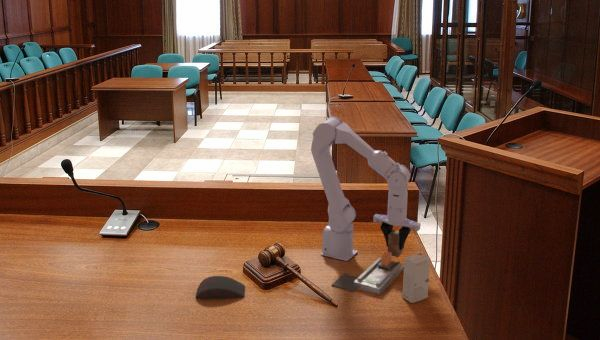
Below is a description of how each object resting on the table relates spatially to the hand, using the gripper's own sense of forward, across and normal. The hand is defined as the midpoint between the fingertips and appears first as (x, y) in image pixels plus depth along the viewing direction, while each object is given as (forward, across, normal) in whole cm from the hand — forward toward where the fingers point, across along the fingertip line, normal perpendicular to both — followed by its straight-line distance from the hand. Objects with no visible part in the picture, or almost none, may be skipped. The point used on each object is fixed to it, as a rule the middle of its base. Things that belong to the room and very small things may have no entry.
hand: (395, 247), depth 189 cm
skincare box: (+6, -13, +17) cm, 22 cm away
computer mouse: (+6, +35, +42) cm, 55 cm away
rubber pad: (+5, +6, +19) cm, 21 cm away
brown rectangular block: (+2, 0, 0) cm, 2 cm away
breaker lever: (+3, 0, +7) cm, 7 cm away
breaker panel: (+5, 0, +12) cm, 13 cm away
